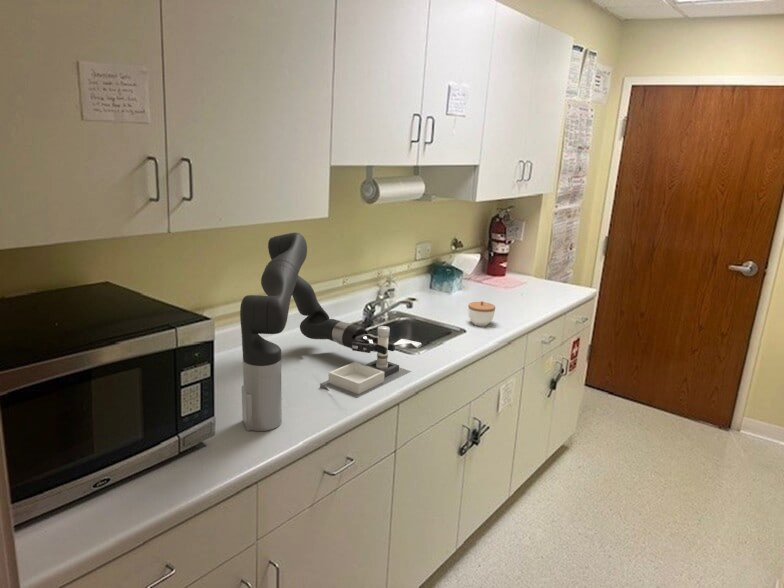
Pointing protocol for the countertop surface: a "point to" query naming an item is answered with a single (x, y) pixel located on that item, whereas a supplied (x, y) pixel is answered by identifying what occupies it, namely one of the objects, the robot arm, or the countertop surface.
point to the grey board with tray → (362, 378)
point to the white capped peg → (383, 341)
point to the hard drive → (403, 341)
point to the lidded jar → (481, 313)
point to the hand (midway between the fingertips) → (389, 349)
